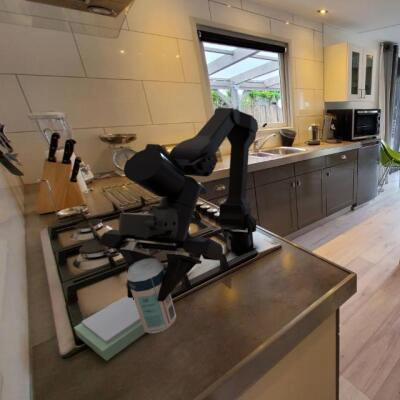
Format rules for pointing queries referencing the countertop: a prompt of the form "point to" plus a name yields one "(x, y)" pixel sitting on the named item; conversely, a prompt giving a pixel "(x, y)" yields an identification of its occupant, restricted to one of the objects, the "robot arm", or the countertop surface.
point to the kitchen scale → (112, 328)
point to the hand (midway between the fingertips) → (145, 299)
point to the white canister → (150, 295)
